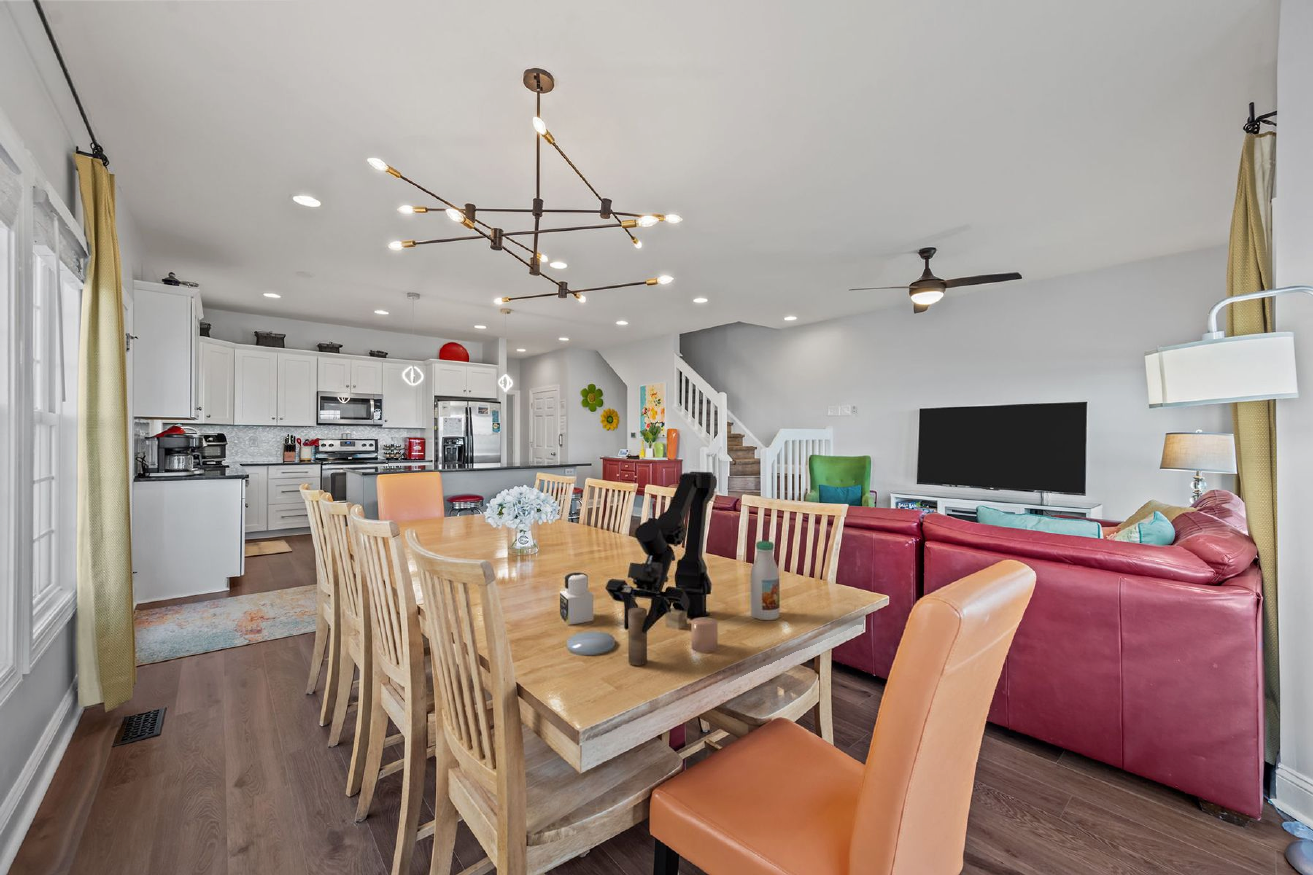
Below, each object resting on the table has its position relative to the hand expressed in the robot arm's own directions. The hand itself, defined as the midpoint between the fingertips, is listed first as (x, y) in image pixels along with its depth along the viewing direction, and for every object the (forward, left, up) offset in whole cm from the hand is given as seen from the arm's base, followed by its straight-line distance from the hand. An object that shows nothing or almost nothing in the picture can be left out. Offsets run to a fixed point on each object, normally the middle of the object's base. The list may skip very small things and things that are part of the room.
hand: (634, 630), depth 112 cm
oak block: (-21, -14, -7) cm, 26 cm away
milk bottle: (-45, -6, -8) cm, 46 cm away
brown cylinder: (-1, -1, -7) cm, 7 cm away
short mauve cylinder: (-18, +1, -7) cm, 20 cm away
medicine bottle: (-2, -33, -8) cm, 34 cm away
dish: (+3, -15, -7) cm, 17 cm away
